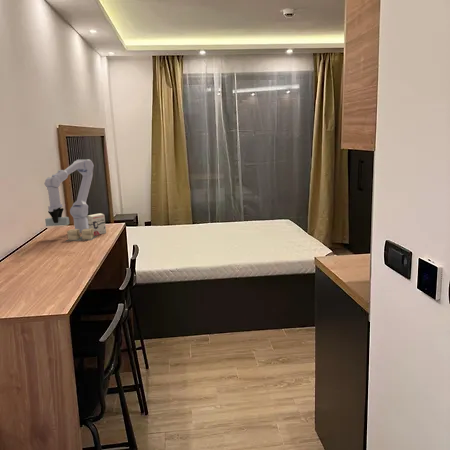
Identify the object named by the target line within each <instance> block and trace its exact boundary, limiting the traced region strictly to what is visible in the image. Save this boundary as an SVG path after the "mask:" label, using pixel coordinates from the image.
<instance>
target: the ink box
mask: <svg viewBox="0 0 450 450" xmlns="http://www.w3.org/2000/svg"><path fill="white" fill-rule="evenodd" d="M87 219H88V225H89V229H92V228H93V231H94V236H98V235H102V234H107V228H106V226H107V225H106V217H105V214H104V213H101V212H100V213H94V214H89V215H87Z"/></svg>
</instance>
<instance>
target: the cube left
mask: <svg viewBox="0 0 450 450" xmlns="http://www.w3.org/2000/svg"><path fill="white" fill-rule="evenodd" d="M66 233H67V240H78V239H79V238H80V236H81V233H80V231H79V229H75V228H72V229H71V228H70V229H69V230H67V231H66Z"/></svg>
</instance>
